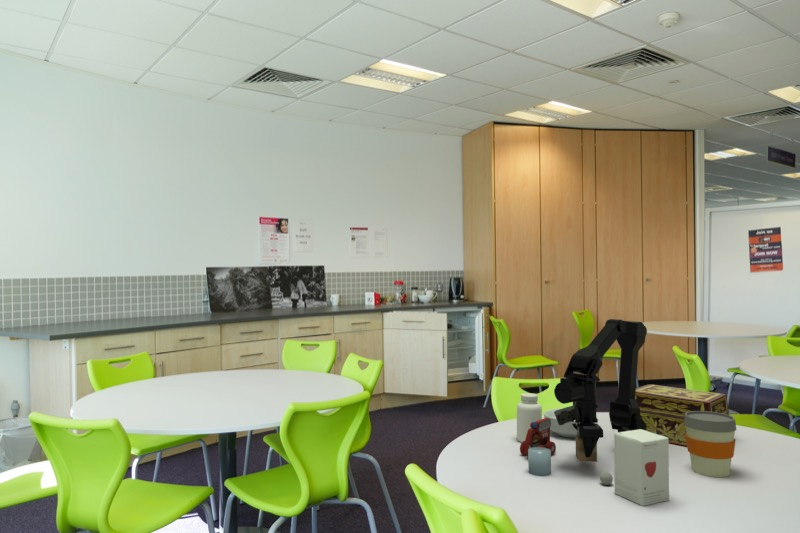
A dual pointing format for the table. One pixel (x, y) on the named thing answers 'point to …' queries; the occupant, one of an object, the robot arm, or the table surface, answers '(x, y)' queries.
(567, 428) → the cereal bowl
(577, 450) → the walnut block
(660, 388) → the decorative box
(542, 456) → the blue domed cylinder
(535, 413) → the pill bottle
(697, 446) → the reusable coffee cup
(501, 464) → the table surface
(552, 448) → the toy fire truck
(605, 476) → the grey ball
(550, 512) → the table surface
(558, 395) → the robot arm
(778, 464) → the table surface
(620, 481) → the supplement box
